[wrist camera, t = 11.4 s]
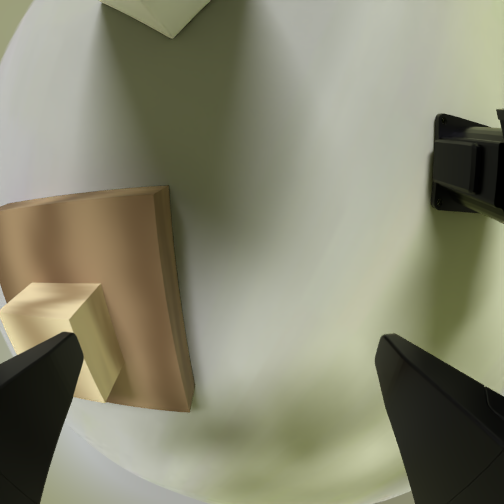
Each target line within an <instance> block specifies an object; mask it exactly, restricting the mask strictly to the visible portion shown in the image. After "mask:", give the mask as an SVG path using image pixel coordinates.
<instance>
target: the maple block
mask: <svg viewBox="0 0 504 504" xmlns="http://www.w3.org/2000/svg"><path fill="white" fill-rule="evenodd" d="M0 318H1V321H2V323H3V325H4V328H5V330H6V332H7V335H8V337H9V339H10V341H11V343H12V345H13V347H14V349H15V351H16V353H17V355H19V354H20V353H22V352H24V351H26V350H28V349H30V348H32V347H34V346H36V345H38V344H40V343H42V342H44V341H46V340H48V339H50V338H51V337H53V336H55V335H57V334H59V333H61V332H73V333H75V334H76V336H77V338H78V341H79V343H80V346H81V349H82V351H83V354H84V361H83V365H82V368H81V371H80V375H79V378H78V382H77V385H76V389H75V392H74V396H73V397H77V398H81V399H86V400H91V401H97V402H102V403H106V400H107V398H108V396H109V394H110V392H111V390H112V387H113V385H114V383H115V381H116V379H117V377H118V375H119V373H120V371H121V369H122V366H123V364H124V362H125V361H124V358H123V355H122V352H121V349H120V346H119V343H118V340H117V337H116V334H115V331H114V328H113V325H112V322H111V318H110V315H109V312H108V308H107V305H106V301H105V297H104V294H103V290H102V286H101V284H94V283H31V284H30V285H28V286H27V287H26V288H25V289H24V290H22V291H21V292H20V293H19V294H18V295H16V296H15V297H14V298H13V299H12V300H11V301H9V302H8V303H7V304H6V305H5V306H4V307H3V308H2V309H0Z"/></svg>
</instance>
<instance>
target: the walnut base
mask: <svg viewBox="0 0 504 504" xmlns="http://www.w3.org/2000/svg"><path fill="white" fill-rule="evenodd" d="M31 283H94V284H101V286H102V290H103V294H104V297H105V301H106V305H107V308H108V312H109V315H110V318H111V322H112V325H113V328H114V331H115V334H116V337H117V340H118V343H119V346H120V349H121V352H122V355H123V358H124V361H125V362H124V364H123V366H122V369H121V371H120V373H119V375H118V377H117V379H116V381H115V383H114V385H113V387H112V390H111V392H110V394H109V396H108V398H107V400H106V402H109V403H115V404H121V405H127V406H134V407H141V408H148V409H157V410H166V411H177V412H190V409H191V403H192V398H193V393H194V388H195V383H194V378H193V373H192V368H191V362H190V357H189V351H188V345H187V339H186V333H185V327H184V320H183V313H182V307H181V300H180V292H179V285H178V277H177V269H176V260H175V251H174V241H173V231H172V220H171V208H170V195H169V185H166V186H151V187H138V188H126V189H115V190H105V191H95V192H86V193H77V194H69V195H62V196H54V197H47V198H40V199H34V200H27V201H21V202H15V203H9V204H6V205H4V206H1V207H0V284H1V288H2V291H3V294H4V297H5V299H6V302H7V303H8V302H9V301H11V300H12V299H13V298H14V297H15V296H16V295H18V294H19V293H20V292H21V291H22V290H24V289H25V288H26V287H27V286H28V285H30V284H31Z"/></svg>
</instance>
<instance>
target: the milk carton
mask: <svg viewBox="0 0 504 504" xmlns="http://www.w3.org/2000/svg"><path fill="white" fill-rule="evenodd" d="M99 1H100V2H102V3H104V4H106V5H108V6H110V7H112V8H115V9H117V10H119V11H121V12H123V13H125V14H127V15H129V16H131V17H133V18H134V19H136V20H138V21H140V22H142V23H144V24H146V25H148V26H149V27H151V28H153V29H155V30H157V31H158V32H160V33H162V34H164V35H165V36H167V37H169V38H171V39H173V38H174V37H175V36H176V35H177V34H178V33H179V32H180V31H181V30H182V29H183V28H184V26H185V25H186V24H187V23H188V22H189V21H190V20H191V19H192V18H193V17H194V16H195V15H196V14H197V13H198V12H199V11H200V10H201V9H202V8H203V7H204V6H205V5H207V4H208V3H209V2H210V1H211V0H99Z"/></svg>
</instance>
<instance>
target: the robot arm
mask: <svg viewBox="0 0 504 504" xmlns="http://www.w3.org/2000/svg"><path fill="white" fill-rule="evenodd" d="M496 111H497V116H498V119H499V120H500V123H501V128H491V127H488V126H485V125H482V124H479V123H476V122H472V121H469V120H466V119H462V118H459V117H455V116H452V115H448V114H438V115H437V116H436V119H435V143H434V165H433V187H432V197H431V205H432V207H433V208H435V209H437V210H445V211H459V212H472V213H481V214H483V215H486V216H488V217H490V218H492V219H494V220H497V221H499V222H501V223H503V224H504V109H496ZM442 118H443V120H444V124H443V123H442ZM438 200H439V204H438V205H437V201H438ZM83 361H84V354H83V351H82V349H81V346H80V343H79V341H78V338H77V336H76V334H75V333H73V332H61V333H59V334H57V335H55V336H53V337H51V338H50V339H48V340H46V341H44V342H42V343H40V344H38V345H36V346H34V347H32V348H30V349H28V350H26V351H24V352H22V353H20V354H19V355H17V356H15V357H13V358H11V359H9V360H7V361H5V362H3V363H2V364H0V504H40V501H41V497H42V493H43V489H44V485H45V482H46V478H47V474H48V471H49V467H50V464H51V461H52V457H53V454H54V451H55V448H56V444H57V442H58V439H59V436H60V433H61V430H62V427H63V424H64V421H65V419H66V416H67V413H68V410H69V408H70V405H71V402H72V399H73V396H74V392H75V389H76V385H77V382H78V378H79V375H80V371H81V368H82V365H83ZM375 366H376V370H377V374H378V378H379V382H380V387H381V391H382V395H383V400H384V404H385V407H386V411H387V414H388V417H389V420H390V422H391V425H392V428H393V431H394V434H395V437H396V441H397V444H398V447H399V450H400V453H401V456H402V460H403V463H404V466H405V469H406V473H407V476H408V480H409V483H410V487H411V490H412V494H413V498H414V501H415V504H504V396H502V395H500V394H498V393H496V392H495V391H493V390H491V389H490V388H488V387H484V385H483V384H481V383H479V382H478V381H476V380H474V379H472V378H471V377H469V376H467V375H466V374H464V373H462V372H460V371H459V370H457V369H455V368H454V367H452V366H450V365H448V364H447V363H445V362H443V361H442V360H440V359H438V358H436V357H435V356H433V355H431V354H430V353H428V352H426V351H424V350H423V349H421V348H419V347H418V346H416V345H414V344H412V343H411V342H409V341H407V340H406V339H404V338H402V337H400V336H399V335H397V334H394V333H393V334H384V335H382V336H381V338H380V341H379V345H378V348H377V352H376V355H375Z"/></svg>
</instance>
